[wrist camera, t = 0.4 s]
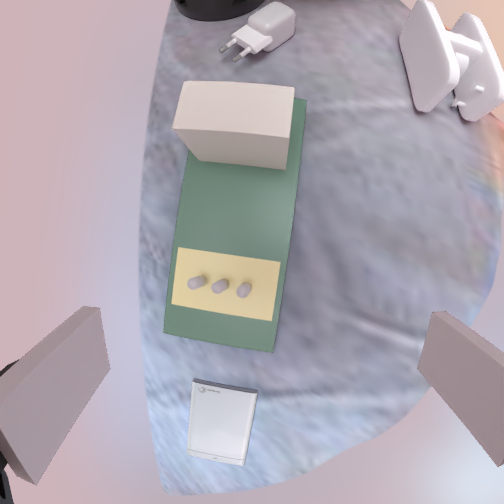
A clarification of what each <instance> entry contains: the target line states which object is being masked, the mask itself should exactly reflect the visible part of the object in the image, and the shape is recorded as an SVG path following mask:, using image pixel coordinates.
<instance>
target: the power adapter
mask: <svg viewBox="0 0 504 504" xmlns="http://www.w3.org/2000/svg"><path fill="white" fill-rule="evenodd" d="M247 22H248V24H246V25H245V26H243V27H242V28H240V29H239V30H237V31H236V32H234V33H233V34H232V35H230V36H231V38H232V40H231V41H230V42H229V43H227V44H226V45H224V46H223V47H221V48H220V49H219V52H220V53H223V52H224V51H226V50H227V49H228V48H229V47H231V46H232V45H233V44H235V43H237V44H238V45H240V46H241V47H243V48H244V49H245V50H244V51H242V52H241V53H240V54H238V55H237V56H235V57H234V58H233V59H232V61H233V62H235V63H236V62H238V61H239V60H240V59H241V58H242V57H244V56H245V55H246V54H248V53H249V52H250V53H252V54H256V53H258V52H259V51H260V50H262V49H263V50H264V51H266V52H269V51H272V50H274V49H275V48H277V47H278V46H280V45H281V44H282V43H284V42H285V41H287V40H288V39H289V38H291V37H292V36H293V34H294V33H295V24H296V13H295V11H294V10H293V9H292V8H290V7H288V6H287V5H285V4H283V3H281V2H279V1H274V2H271V3H269V4H268V5H266V6H264V7H263V8H261V9H259V10H258V11H256V12H255V13H253V14H252V15H250V17H249V18H248V20H247Z"/></svg>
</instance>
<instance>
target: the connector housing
mask: <svg viewBox="0 0 504 504" xmlns="http://www.w3.org/2000/svg"><path fill="white" fill-rule="evenodd" d="M294 92H295V87H287V86H278V85H268V84H257V83H243V82H222V81H184V83H183V87H182V90H181V94H180V98H179V102H178V106H177V110H176V114H175V118H174V122H173V126H172V129H173V131H174V132H175V133H176V134H177V135H178V136H179V138H180V139H181V140H182V141H183V142H184V144H185V145H186V146H187V147H188V148H189V149H190V151H191V152H192V153H193V154H194V155H195V157H196V158H197V159H198V160H199V161H205V162H217V163H227V164H237V165H247V166H256V167H264V168H272V169H280V170H286V164H287V156H288V148H289V139H290V131H291V122H292V112H293V102H294Z"/></svg>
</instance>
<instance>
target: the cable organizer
mask: <svg viewBox="0 0 504 504" xmlns="http://www.w3.org/2000/svg"><path fill="white" fill-rule="evenodd" d="M399 43H400V48H401V52H402V55H403V59H404V63H405V67H406V70H407V75H408V79H409V83H410V87H411V92H412V97H413V101H414V105H415V107H416V109H417V110H419V111H423V112H430V111H431V110H432V109H433V108H434V107H435V106H436V105H437V104H438V103H439V102H440V101H441V100H442V99H443V98H444V97H446V96H447V95H448V94H449V93H450V92H451V91H452V90H453V89H454V91H455V95H456V97H455V99H454V100H452V103H453V104H452V107H453V106H455V107H457V105H458V107H459V111H460V114H461V116H462V117H463V118H464V119H465V120H469V121H472V122H476V121H477V120H479V119H480V118H482V117H483V116H485V115H486V114H488V113H489V112H490V111H492V110H493V109H495V108H496V107H498V106H499V105H500V104H502V103H503V102H504V72H503V69H502V67H501V64H500V61H499V59H498V56H497V54H496V52H495V49H494V47H493V45H492V42H491V40H490V38H489V36H488V34H487V32H486V30H485V28H484V26H483V24H482V22H481V20H480V19H479V18H478V17H477V16H475V15H472V14H470V13H467V12H465V13H463V14H462V16H461V17H460V19H459V20H458V21H457V23H456V24H455V25H454V27H453V28H452V29H451V31H447V30H445V27H444V25H443V23H442V21H441V18H440V16H439V14H438V12H437V10H436V8H435V6H434V4H433V3H432V2H431V1H428V0H417V2H416V4H415V5H414V8H413V9H412V11H411V13H410V15H409V17H408V19H407V21H406V23H405V25H404V27H403V28H402V30H401V32H400V37H399ZM452 107H451V108H452Z"/></svg>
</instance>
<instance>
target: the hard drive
mask: <svg viewBox="0 0 504 504" xmlns="http://www.w3.org/2000/svg"><path fill="white" fill-rule="evenodd" d="M257 395H258V390H253V389H247V388H241V387H235V386H229V385H224V384H219V383H213V382H208V381H204V380H199V379H193V381H192V390H191V402H190V413H189V426H188V441H187V454H188V455H191V456H195V457H199V458H204V459H208V460H213V461H218V462H223V463H229V464H235V465H244V464H245V459H246V454H247V449H248V444H249V438H250V433H251V428H252V423H253V417H254V412H255V406H256V400H257Z"/></svg>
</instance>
